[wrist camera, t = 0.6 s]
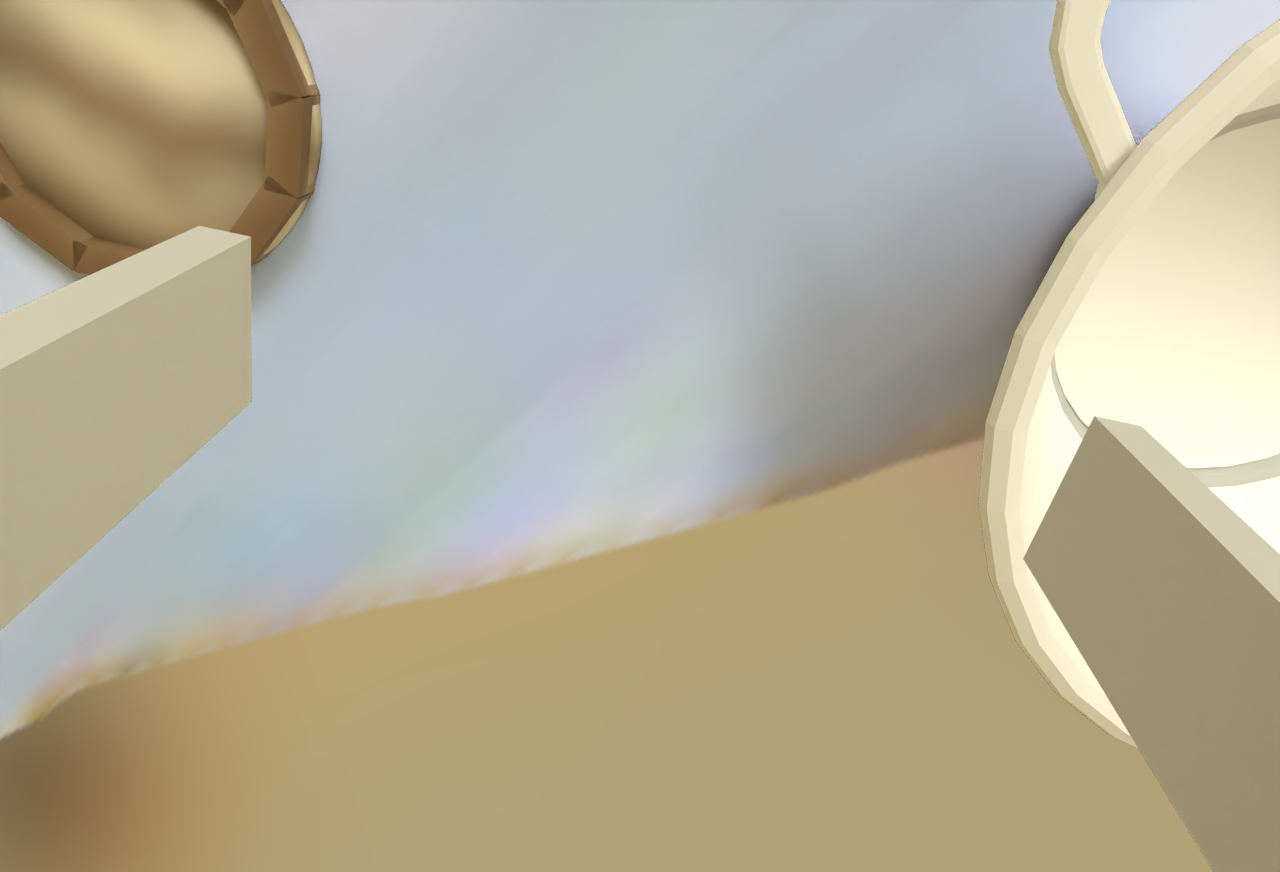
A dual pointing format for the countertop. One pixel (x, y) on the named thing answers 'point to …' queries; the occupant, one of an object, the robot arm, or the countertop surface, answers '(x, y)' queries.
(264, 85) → the round tray
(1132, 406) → the pot
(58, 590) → the countertop surface
